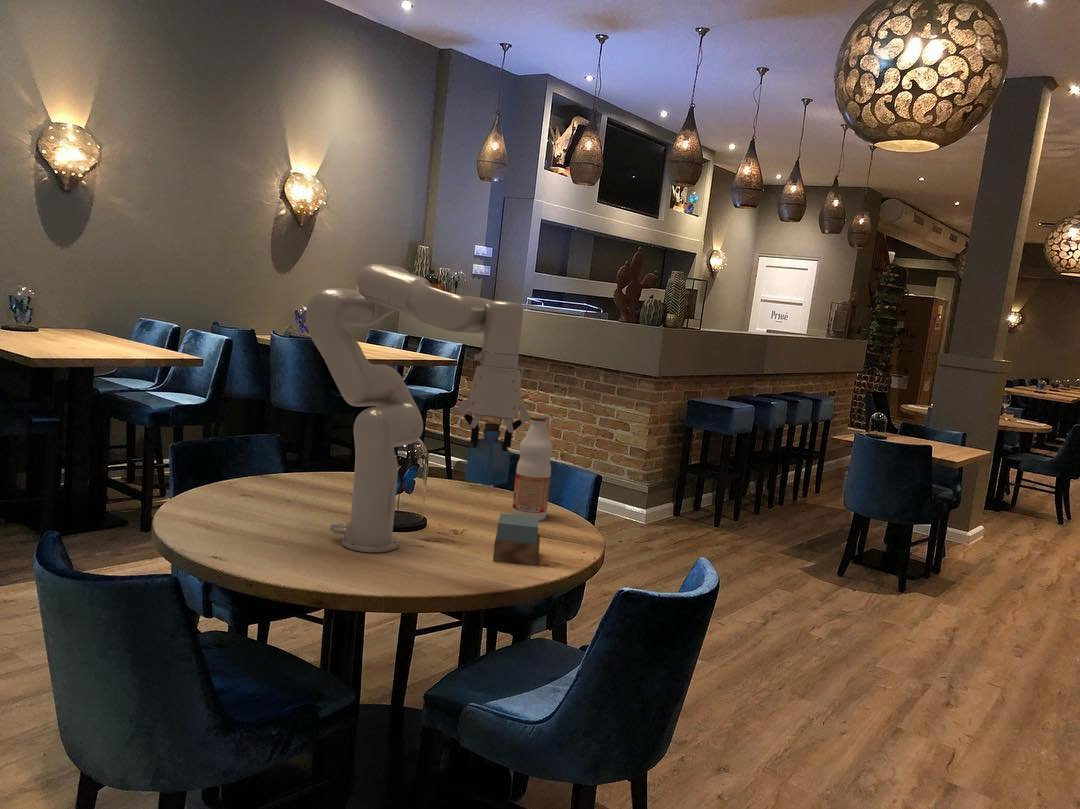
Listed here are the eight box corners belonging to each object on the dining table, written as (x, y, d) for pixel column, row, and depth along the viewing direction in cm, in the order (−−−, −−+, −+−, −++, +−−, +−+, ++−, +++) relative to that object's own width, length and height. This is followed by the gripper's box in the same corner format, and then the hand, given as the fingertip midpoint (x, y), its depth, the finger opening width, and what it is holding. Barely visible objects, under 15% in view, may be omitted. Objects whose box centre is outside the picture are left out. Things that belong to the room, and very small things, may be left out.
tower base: (492, 562, 191) (494, 540, 190) (495, 550, 200) (497, 529, 200) (537, 567, 191) (539, 545, 190) (537, 554, 200) (540, 533, 200)
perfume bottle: (484, 476, 182) (490, 421, 180) (507, 482, 178) (513, 426, 177) (465, 479, 177) (471, 422, 175) (488, 485, 173) (494, 427, 172)
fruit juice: (525, 523, 227) (537, 419, 223) (504, 514, 234) (515, 413, 231) (552, 520, 233) (564, 419, 229) (531, 511, 240) (541, 413, 237)
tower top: (496, 540, 190) (498, 523, 190) (498, 530, 199) (500, 513, 199) (536, 544, 190) (538, 527, 190) (537, 534, 199) (539, 517, 199)
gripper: (455, 358, 171) (446, 446, 173) (540, 368, 171) (530, 456, 173) (460, 355, 178) (451, 440, 180) (541, 365, 178) (532, 450, 180)
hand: (490, 447), depth 177 cm, fingers closed on perfume bottle, 5 cm apart
